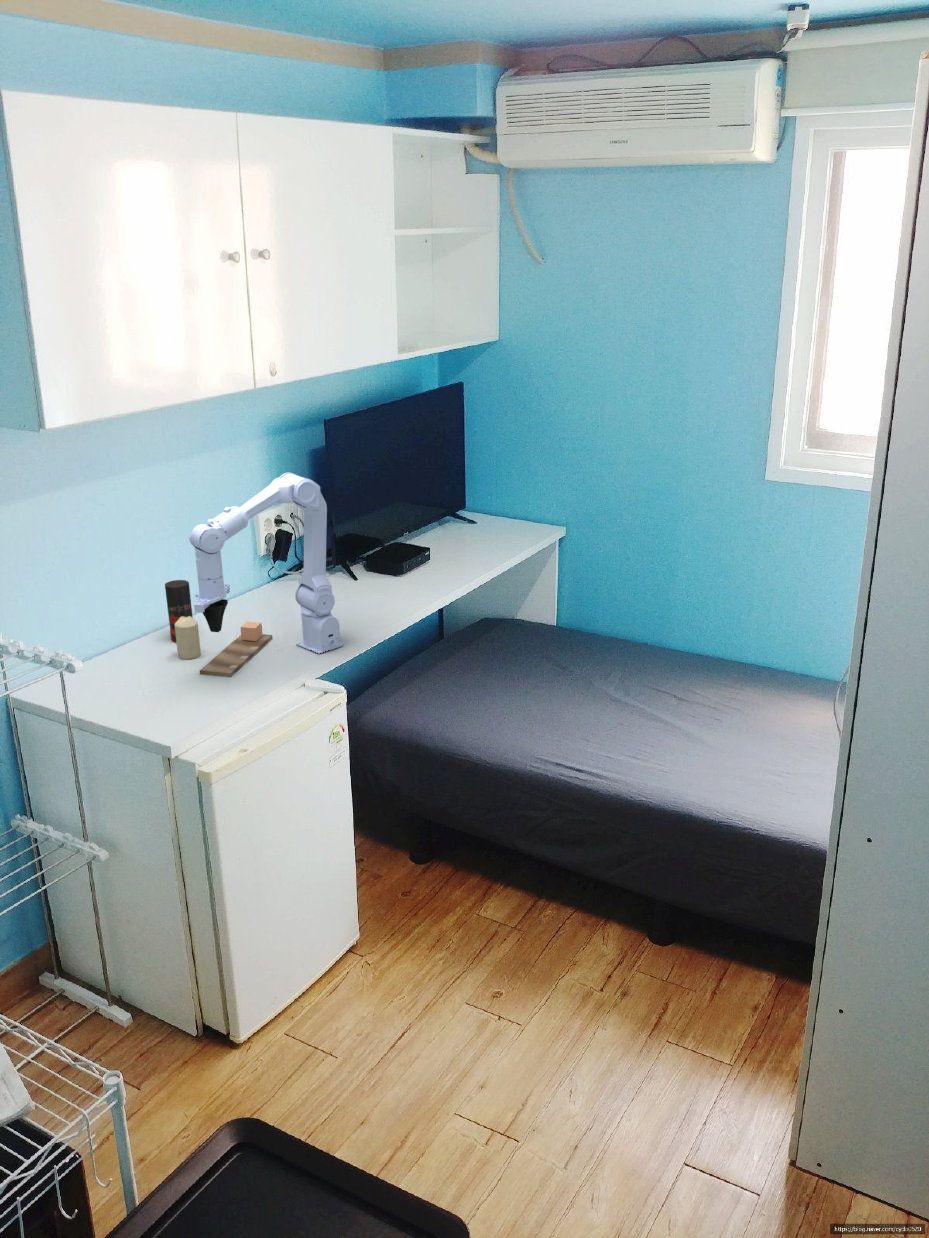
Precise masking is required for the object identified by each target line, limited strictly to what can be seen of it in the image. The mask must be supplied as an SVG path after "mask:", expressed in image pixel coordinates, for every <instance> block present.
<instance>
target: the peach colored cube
mask: <svg viewBox="0 0 929 1238" xmlns="http://www.w3.org/2000/svg"><path fill="white" fill-rule="evenodd" d="M263 634H264V633H263V625H262V622H257V621H245V623H244V624H242V625H241V626H240V635H241V639H242V640H248V641H257V640H258V639H259V638H260V637H261V636H263Z"/></svg>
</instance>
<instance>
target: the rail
mask: <svg viewBox="0 0 929 1238" xmlns="http://www.w3.org/2000/svg"><path fill="white" fill-rule="evenodd" d="M262 634H263V636H261V637H260V638H259V639H258V640H257V641H248V640H242V639H241V634H240V635H239V636H238V637H237V638H235V639H234V640H233V641H232V642H230V644H228V645H227V646H226V647H225V648H224V649H223V650H221V651H220V652H219V653H218V654H217V655H216V656H214V657H213V658H212V659H211V660H210V661H208V662H207V663H206V664H205V665H204V666H203V667H202V668H201V669H199V671H198V672H199V675H203V676H215V677H216V676H217V677H227V678H232V677H234V675H235V674H236V673H237V672H238V671H239V670H241V669H242V668H243V667H244V666H245V665H246V664H247V663H248V662H249V661H250V660H252V659H253V657H255V656H256V655H257V654H258V653H259V652H260V651H261V650H262V649H263V648H265V646H266V645H267V644H268V643H269V642H271V641H272V640H273V634H264V633H262Z"/></svg>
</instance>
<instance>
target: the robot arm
mask: <svg viewBox="0 0 929 1238" xmlns="http://www.w3.org/2000/svg"><path fill="white" fill-rule="evenodd" d="M278 503H279V504H290V505H291V504H295V505H296V506H297V507H298V508H299V509H301V511H302V512H303V573H302V575H301V576H300V577H299V578H298V585H297V587H296V590H295V592H294V593H295V594H294V597H295V601H296V602H297V604H298V605H299V606H300V613H301V616H300V617H301V626H302V627H301V629H302V631H301V632H302V640H300V641H297V642H296V646H298V647H301V648H303V649H305V648H306V650H308V651H310V650H312V651H311V652H313V651H314V652H313V653H315V652H316V654H317V653H318V655H320V653H321V654H324V653H326V652H329V651H332V650H335V649H337V648H340V647H343V646H344V643H342V642H341V633H340V631H341V629H340V623H339V619H337V618H336V617H335V616H333V614H332V613H331V611H332V610H333V608H334V606H335V601H336V600H335V599H336V598H335V596H334V594H333V590H332V584H331V582H330V580H329V578H328V577H327V575H326V573H327V568H326V567H327V528H328V527H327V523H328V522H327V521H328V519H327V518H328V517H327V516H328V506H327V504H328V503H327V502H326V500H325V498H324V496H323V494H322V492H321V485H319V484H318V483H316V482H315V481H313V480H312V479H310V478H306V477H302V476H300V475H297V474H295V473H293V472H285V473H283V474H281V475H280V476H279V477H276V478H274V479H273V480H272V481H271V483H270V484H269V485H267V487H265V488H264V489H262V490H261V491H260V492H258V493H257V494H256V495H254V496H253V497H251V498H250V499H248V500H247V501H246V502H245V503H244V504H242V505H241V506H237V505H236V506H233V505H231V506H230V507H229V506H226V507H225V508H223V512H221V513H219V514H218V515H217V516H215V517H214V518H209V519H208V520H207V521H206V523H203V524H202V523H201V524H197V525H196V526H195V527H194V528H193V529H192V531H191V533H190V536H189V537H188V540H189V543H190V544H191V545H192V546H193V548H194V554H195V565H196V573H197V583H198V584H197V585H198V591H197V592H196V593H195V594H194V596H195V598H197V599H196V602H195V603H194V604H193V608H194V613H202V614H203V616H204V618H205V620H206V623H207V625H208V628H209V630H210V633H211V632H212V633H220V632H221V630H222V627H223V620H224V614H225V612H226V608H227V606H228V604H229V602H228V599H226V597H227V594H230V593H231V587H230V584H225V582H224V573H223V562H222V553H221V550H222V549H223V547H224V545H225V543H226V541H228V540H229V539H231V538H233V536H235V535H237V534H238V533H240V532H241V531H242V530H244V529H246V527H248V523H249V520H250V519H252V518H253V517H255V516H256V515H258V514H260V513H262V512H264V511H266V510H267V509H268V508H270V507H272V506H273V505H275V504H278ZM328 650H329V651H328ZM325 651H326V652H325ZM323 652H324V653H323Z"/></svg>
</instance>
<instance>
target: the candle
mask: <svg viewBox="0 0 929 1238" xmlns="http://www.w3.org/2000/svg"><path fill="white" fill-rule="evenodd" d="M198 622H199V621H197V620H196V619H195V618H194V617H193V618H192V617H191V616H188V617H183V616H182V617H180V618H179V619H178V621H177V622H176V623H175V633H176V642H177V643H176V649H177V656H178V658H179V659H181V660H185V661H186V660H194V659H197V658H199V657H200V656H201V654H202V652H201V642H200V633H199V623H198Z"/></svg>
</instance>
